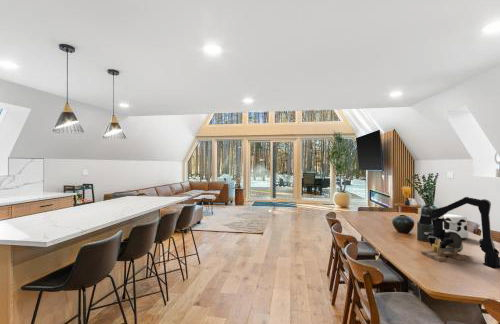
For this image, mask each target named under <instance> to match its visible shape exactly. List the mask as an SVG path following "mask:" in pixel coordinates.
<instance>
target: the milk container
mask: <svg viewBox="0 0 500 324" xmlns="http://www.w3.org/2000/svg"><path fill="white" fill-rule="evenodd" d="M443 218H445V219H446V220H447V221H446V222H443V229H445V232H455V233H457V234H459V235H460V236H461V238H462V240H463V239H467V238H468V237H469V229H468V217H467V216H465V215H460V214H451V213H449V214H448V213H446V214H444V215H443Z"/></svg>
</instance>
